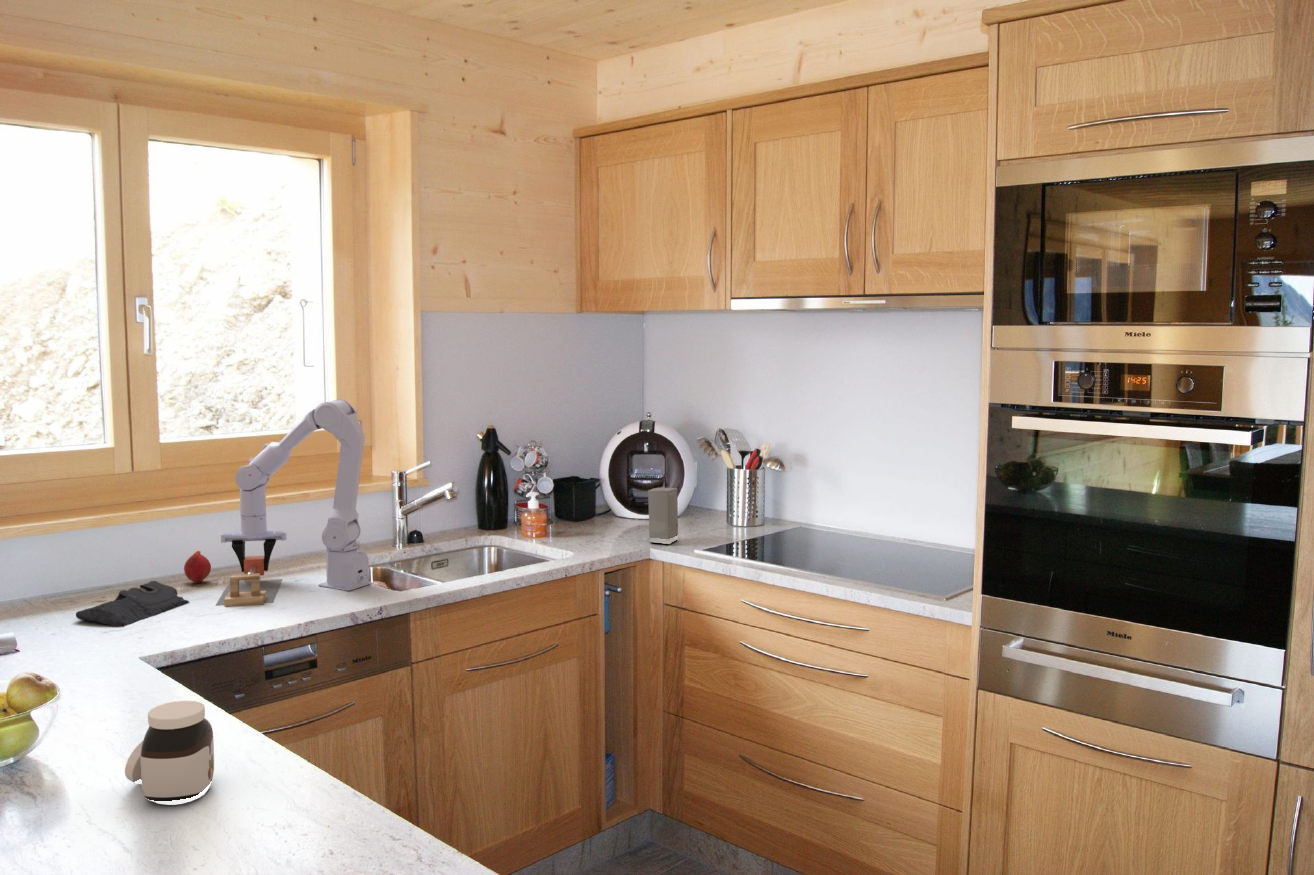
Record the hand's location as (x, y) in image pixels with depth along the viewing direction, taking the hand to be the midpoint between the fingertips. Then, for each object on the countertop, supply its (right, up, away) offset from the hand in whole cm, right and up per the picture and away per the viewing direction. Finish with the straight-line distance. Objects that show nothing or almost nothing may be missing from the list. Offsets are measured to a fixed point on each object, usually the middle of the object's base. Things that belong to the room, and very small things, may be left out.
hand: (255, 570), depth 249 cm
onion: (-13, -3, -1) cm, 14 cm away
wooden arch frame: (+5, -5, -17) cm, 18 cm away
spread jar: (+31, -16, -110) cm, 115 cm away
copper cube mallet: (+2, -2, -6) cm, 7 cm away
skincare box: (+98, +1, +53) cm, 112 cm away
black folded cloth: (-17, -6, -25) cm, 31 cm away
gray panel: (+2, -4, -8) cm, 9 cm away
